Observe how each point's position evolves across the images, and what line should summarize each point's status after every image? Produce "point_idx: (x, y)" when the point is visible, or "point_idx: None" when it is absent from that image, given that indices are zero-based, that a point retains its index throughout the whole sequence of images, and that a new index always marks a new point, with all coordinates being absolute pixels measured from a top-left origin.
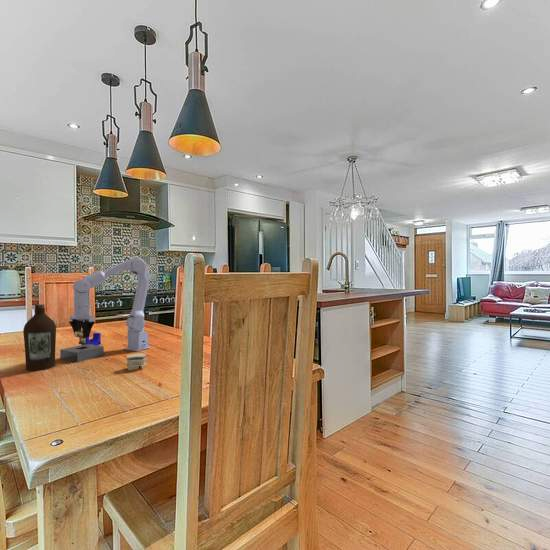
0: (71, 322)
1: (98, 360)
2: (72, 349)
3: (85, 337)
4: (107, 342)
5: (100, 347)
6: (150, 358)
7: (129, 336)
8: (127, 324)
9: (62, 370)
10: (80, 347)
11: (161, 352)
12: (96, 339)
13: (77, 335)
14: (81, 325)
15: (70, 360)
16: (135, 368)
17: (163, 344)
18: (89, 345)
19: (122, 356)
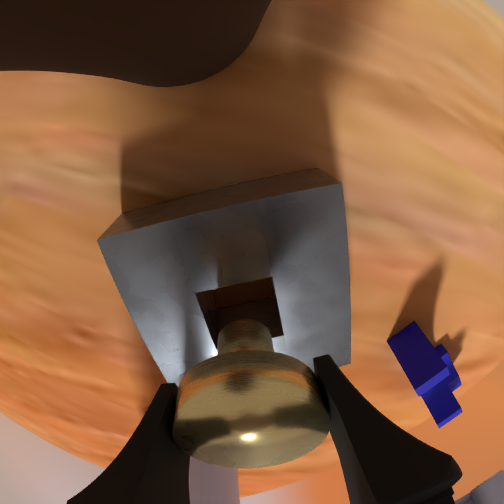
0: (379, 501)
1: (84, 303)
2: (249, 251)
3: (161, 391)
4: (413, 408)
5: (168, 382)
6: (27, 400)
7: (191, 485)
8: None
9: (12, 108)
10: (280, 313)
11: (87, 445)
12: (430, 397)
13: (204, 372)
14: (121, 497)
15: (194, 194)
16: None
17: None
18: None
19: (99, 384)
